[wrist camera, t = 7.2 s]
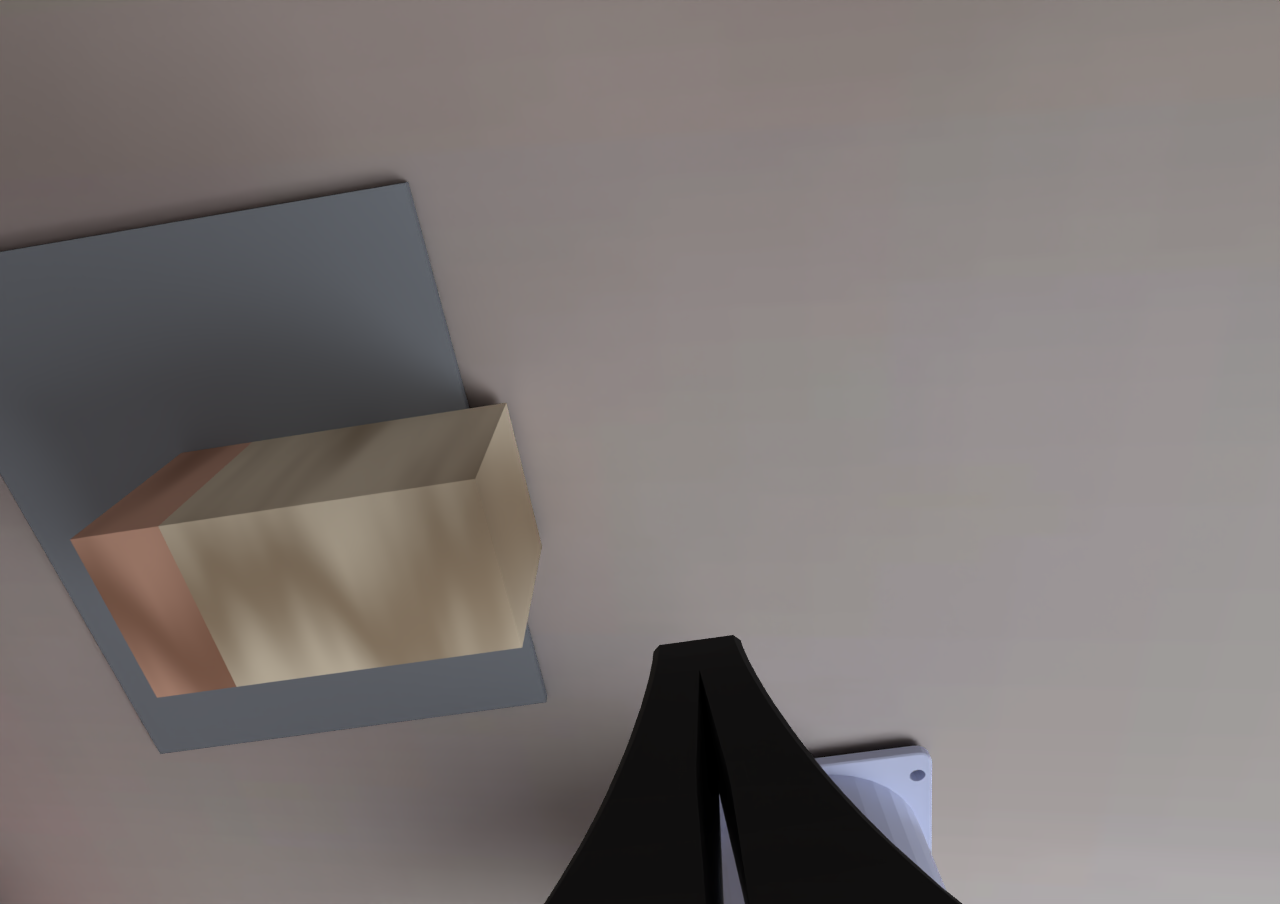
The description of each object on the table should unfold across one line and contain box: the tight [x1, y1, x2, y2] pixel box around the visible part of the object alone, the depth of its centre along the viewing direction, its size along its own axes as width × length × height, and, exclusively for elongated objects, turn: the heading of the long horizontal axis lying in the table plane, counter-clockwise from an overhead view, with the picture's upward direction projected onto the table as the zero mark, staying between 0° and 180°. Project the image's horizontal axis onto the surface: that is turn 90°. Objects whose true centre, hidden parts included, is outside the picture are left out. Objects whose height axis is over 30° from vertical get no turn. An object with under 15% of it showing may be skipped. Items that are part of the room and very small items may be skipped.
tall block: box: [70, 403, 542, 698], centre depth 19 cm, size 4×4×9 cm
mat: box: [0, 182, 547, 754], centre depth 21 cm, size 16×13×1 cm
